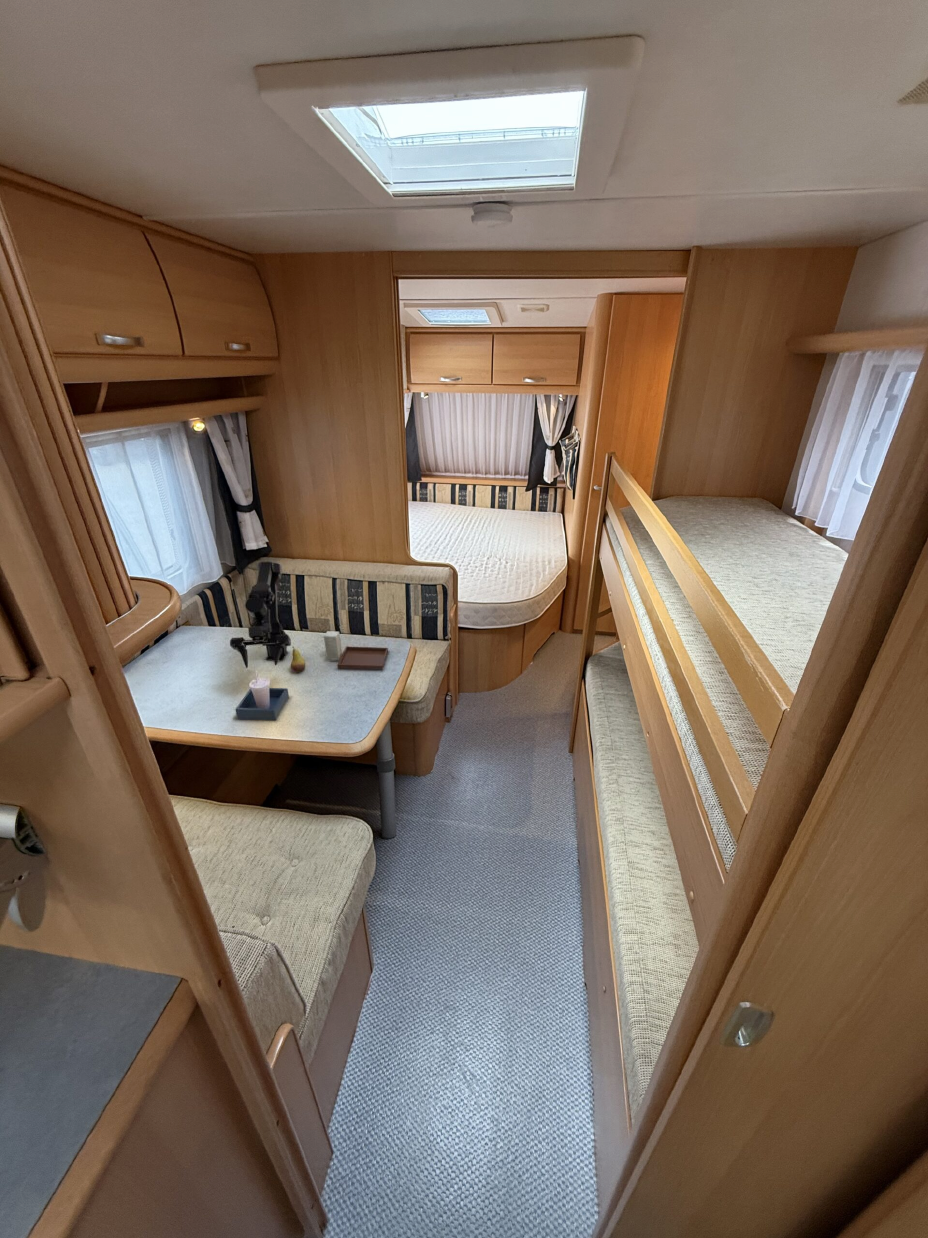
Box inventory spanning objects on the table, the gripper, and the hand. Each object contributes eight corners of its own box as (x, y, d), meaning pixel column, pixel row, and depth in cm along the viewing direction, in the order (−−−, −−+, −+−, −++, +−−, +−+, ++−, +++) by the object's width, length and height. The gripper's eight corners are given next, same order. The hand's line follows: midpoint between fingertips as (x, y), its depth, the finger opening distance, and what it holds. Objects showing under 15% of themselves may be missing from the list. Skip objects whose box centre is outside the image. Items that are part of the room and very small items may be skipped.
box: (342, 655, 198) (340, 631, 193) (339, 661, 194) (336, 636, 189) (329, 655, 198) (327, 630, 193) (326, 660, 194) (323, 635, 190)
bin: (237, 719, 160) (235, 709, 158) (253, 696, 171) (251, 687, 170) (275, 720, 160) (274, 710, 158) (289, 697, 171) (287, 688, 170)
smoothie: (256, 701, 168) (250, 666, 162) (276, 701, 169) (270, 666, 162) (251, 713, 162) (243, 677, 156) (271, 712, 163) (264, 676, 157)
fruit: (309, 669, 188) (306, 642, 183) (297, 676, 184) (293, 648, 178) (300, 665, 191) (296, 637, 186) (288, 671, 187) (283, 643, 181)
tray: (337, 669, 189) (337, 664, 188) (346, 650, 202) (346, 646, 201) (382, 670, 189) (382, 665, 188) (388, 652, 201) (388, 647, 200)
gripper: (225, 616, 161) (224, 662, 156) (285, 612, 165) (285, 657, 160) (234, 627, 172) (234, 670, 167) (290, 623, 175) (291, 666, 170)
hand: (261, 666), depth 166 cm, fingers open, 9 cm apart
